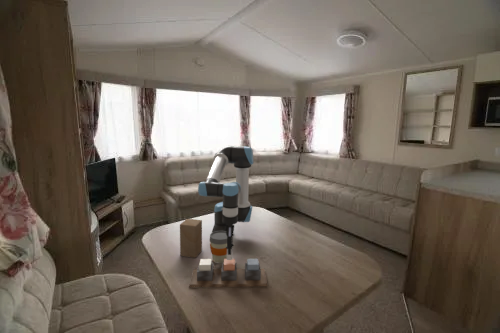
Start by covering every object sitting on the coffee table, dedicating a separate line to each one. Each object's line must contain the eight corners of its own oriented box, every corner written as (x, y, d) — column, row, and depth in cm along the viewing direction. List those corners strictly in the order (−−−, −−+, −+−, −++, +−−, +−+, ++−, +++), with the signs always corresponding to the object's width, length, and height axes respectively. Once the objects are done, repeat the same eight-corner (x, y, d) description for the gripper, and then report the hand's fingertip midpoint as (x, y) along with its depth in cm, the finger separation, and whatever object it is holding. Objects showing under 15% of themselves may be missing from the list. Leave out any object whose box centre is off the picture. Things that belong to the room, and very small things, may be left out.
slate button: (247, 273, 126) (247, 264, 125) (246, 267, 131) (247, 258, 131) (258, 273, 126) (258, 264, 125) (257, 267, 132) (257, 258, 131)
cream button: (199, 274, 124) (199, 264, 124) (200, 267, 130) (200, 258, 129) (210, 274, 125) (210, 264, 124) (211, 267, 130) (211, 258, 129)
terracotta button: (223, 274, 125) (223, 264, 124) (223, 267, 131) (224, 258, 130) (234, 273, 125) (234, 264, 125) (234, 267, 131) (234, 258, 130)
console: (189, 287, 121) (189, 275, 120) (193, 271, 134) (193, 260, 133) (267, 286, 124) (267, 274, 123) (264, 271, 136) (264, 260, 135)
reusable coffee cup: (205, 261, 144) (205, 237, 141) (215, 251, 155) (215, 229, 153) (225, 266, 140) (225, 241, 137) (234, 256, 151) (234, 232, 149)
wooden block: (195, 258, 147) (195, 226, 144) (180, 256, 149) (179, 224, 146) (202, 250, 157) (202, 219, 154) (187, 248, 159) (187, 218, 156)
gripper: (223, 210, 129) (222, 252, 133) (221, 219, 116) (221, 266, 120) (237, 210, 130) (236, 252, 134) (238, 219, 117) (236, 266, 121)
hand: (229, 259), depth 127 cm, fingers closed
